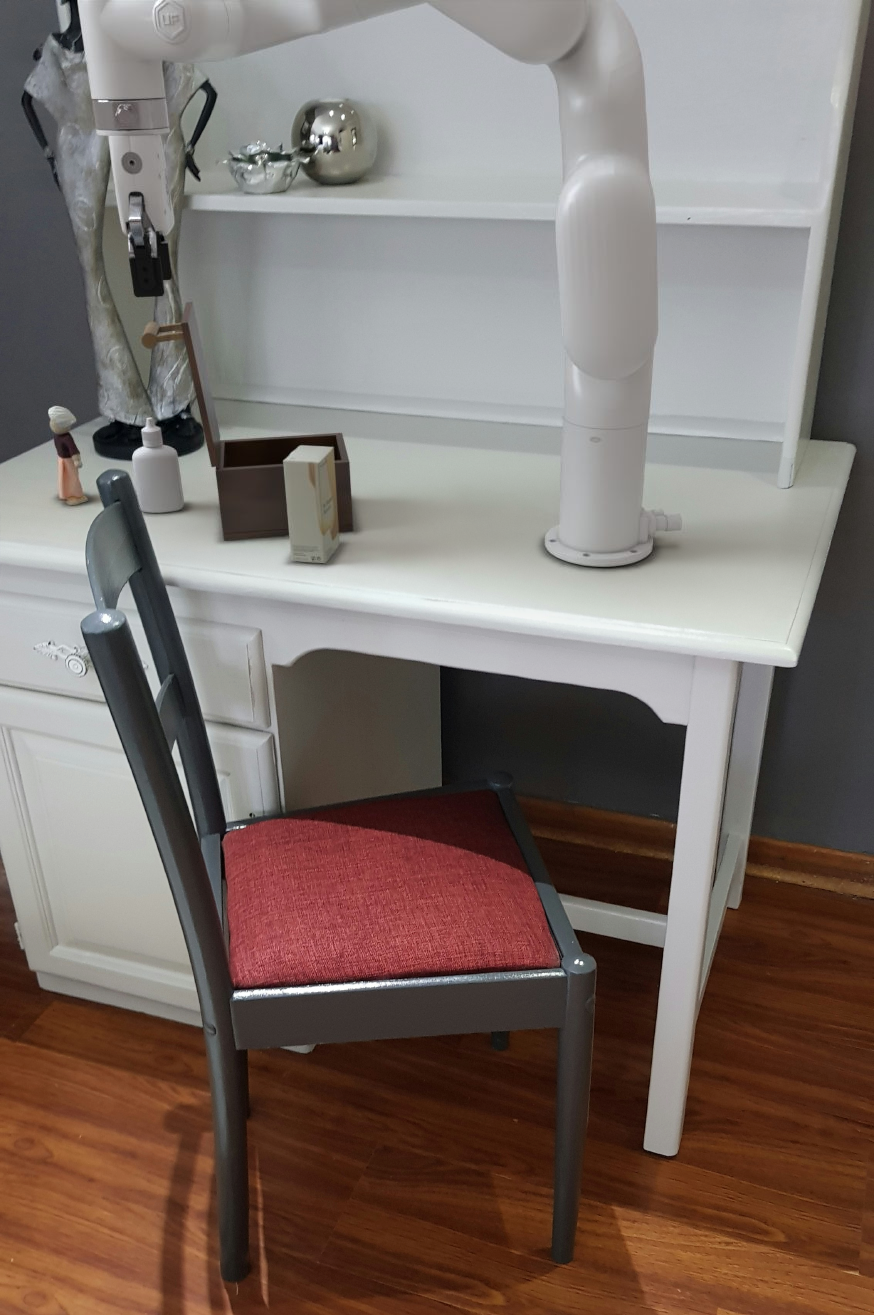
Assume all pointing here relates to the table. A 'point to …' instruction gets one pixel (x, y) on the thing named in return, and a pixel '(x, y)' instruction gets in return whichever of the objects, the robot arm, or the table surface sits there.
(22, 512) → the table surface
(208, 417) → the lid
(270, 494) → the chest
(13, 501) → the table surface
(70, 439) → the grandmother figurine
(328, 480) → the cosmetic box
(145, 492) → the eye dropper bottle
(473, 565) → the table surface
